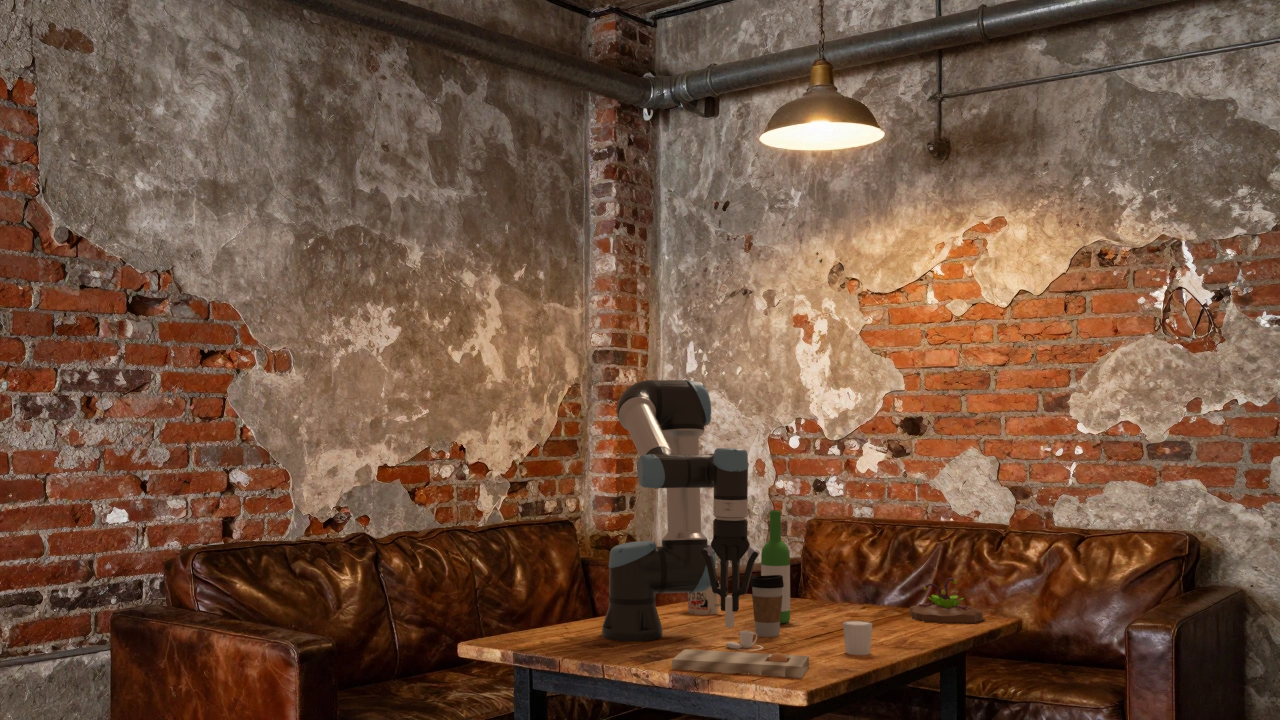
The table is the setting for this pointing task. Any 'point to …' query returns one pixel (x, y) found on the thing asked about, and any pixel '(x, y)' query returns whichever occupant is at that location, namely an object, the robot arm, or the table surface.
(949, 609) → the plant
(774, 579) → the coffee cup
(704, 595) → the teacup with lid
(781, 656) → the ball
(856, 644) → the white cup
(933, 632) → the table surface
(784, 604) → the wine bottle
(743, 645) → the teacup and saucer
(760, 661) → the box with square hole
